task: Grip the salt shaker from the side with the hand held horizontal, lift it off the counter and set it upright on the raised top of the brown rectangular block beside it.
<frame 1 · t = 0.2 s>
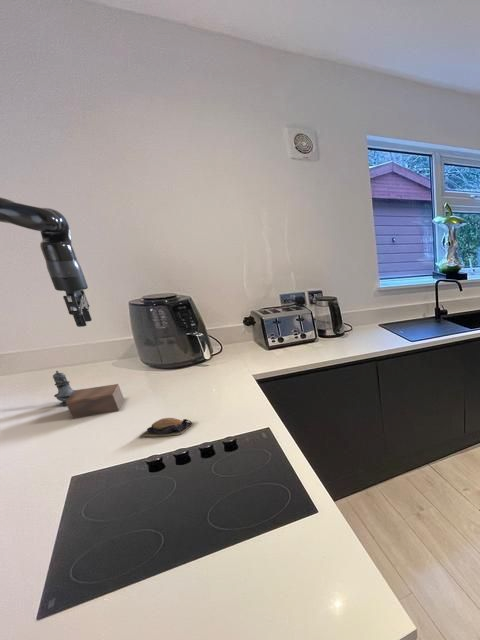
hand: (84, 323, 135), 27 cm above the worktop, tool pointing down, fingers open, 8 cm apart
brown rectangular block: (99, 408, 135), on the worktop
turtle figurine: (168, 430, 122), on the worktop
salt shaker: (70, 403, 138), on the worktop
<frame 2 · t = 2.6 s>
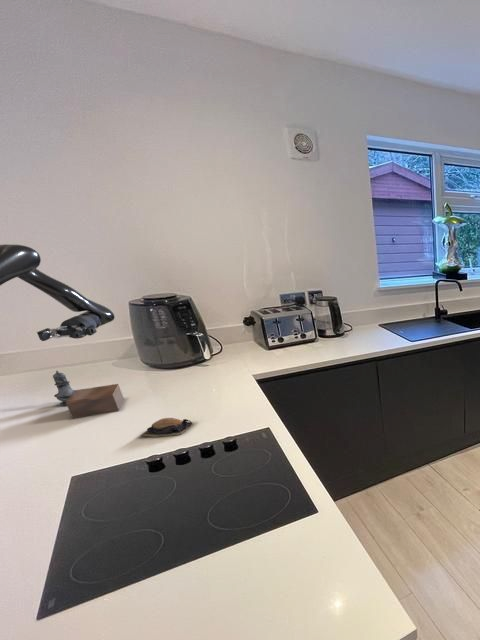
hand: (58, 337, 142), 20 cm above the worktop, tool horizontal, fingers open, 8 cm apart
nothing on the worktop moved.
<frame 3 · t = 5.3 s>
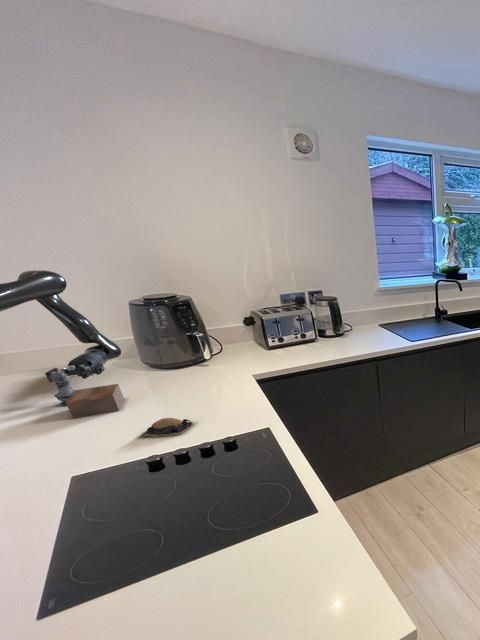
hand: (66, 377, 141), 7 cm above the worktop, tool horizontal, fingers open, 8 cm apart
nothing on the worktop moved.
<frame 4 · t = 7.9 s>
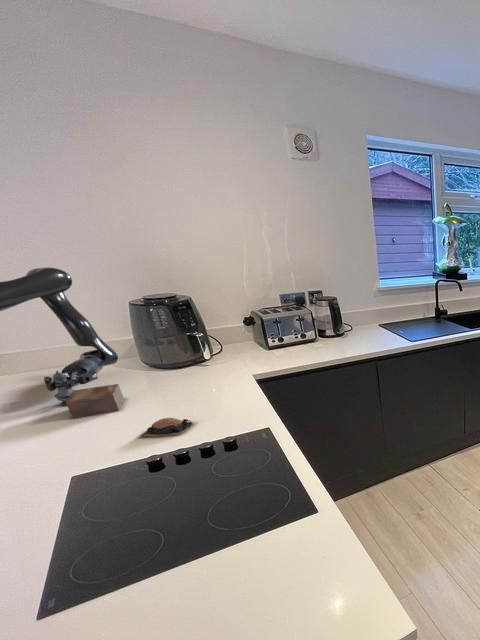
hand: (58, 387, 133), 7 cm above the worktop, tool horizontal, fingers closed on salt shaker, 3 cm apart
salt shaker: (70, 403, 138), on the worktop, touching gripper
everything else where it was.
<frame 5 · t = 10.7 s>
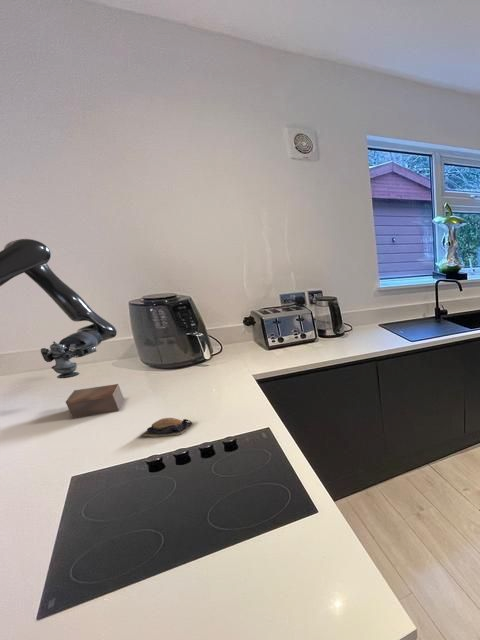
hand: (56, 358, 128), 18 cm above the worktop, tool horizontal, fingers closed on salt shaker, 3 cm apart
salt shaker: (68, 376, 133), point 10 cm above the worktop, touching gripper
everything else where it was.
when the fingers open (13 cm above the worktop, at t = 13.6 s): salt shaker stays where it is, resting on brown rectangular block.
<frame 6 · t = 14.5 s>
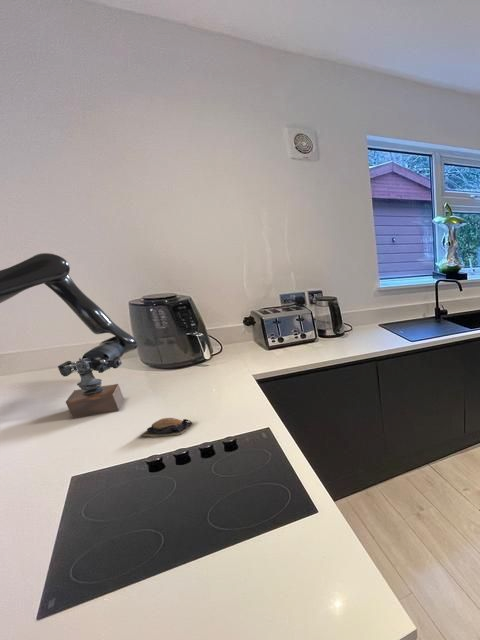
hand: (81, 371, 128), 14 cm above the worktop, tool horizontal, fingers open, 8 cm apart
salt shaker: (93, 392, 133), point 6 cm above the worktop, touching brown rectangular block
everything else where it was.
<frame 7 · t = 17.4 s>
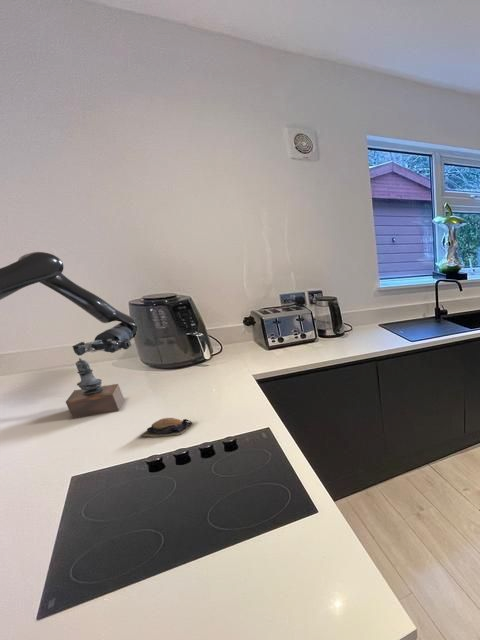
hand: (94, 351, 137), 17 cm above the worktop, tool horizontal, fingers open, 8 cm apart
nothing on the worktop moved.
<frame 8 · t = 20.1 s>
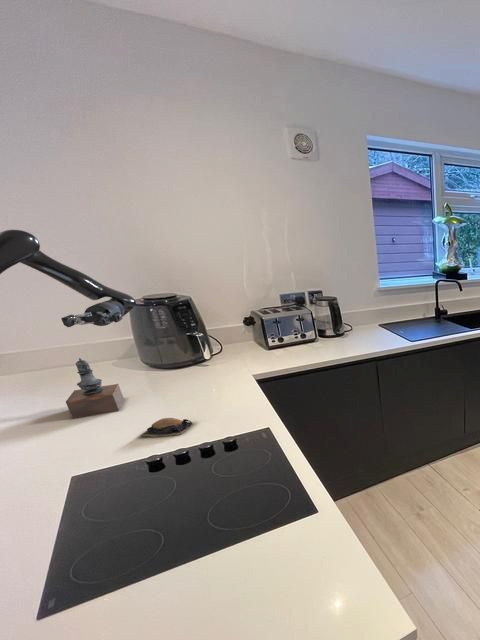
hand: (84, 323, 134), 27 cm above the worktop, tool horizontal, fingers open, 8 cm apart
nothing on the worktop moved.
at the end: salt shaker inside the target area on the brown rectangular block (0.2 cm from its centre), point 5.8 cm above the brown rectangular block's base; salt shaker tilted 0°; the gripper is holding nothing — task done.
